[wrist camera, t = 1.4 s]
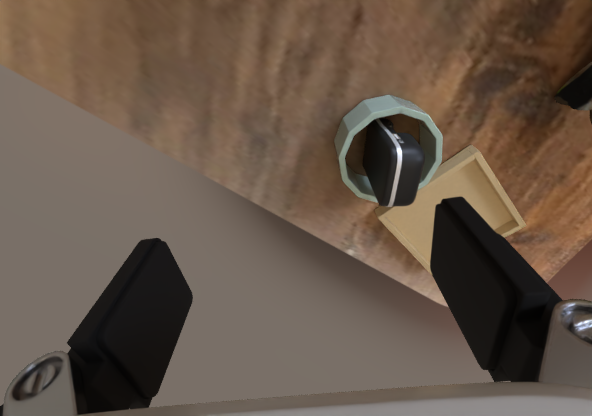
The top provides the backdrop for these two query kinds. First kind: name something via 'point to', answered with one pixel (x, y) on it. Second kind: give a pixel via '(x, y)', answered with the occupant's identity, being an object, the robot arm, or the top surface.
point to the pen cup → (378, 109)
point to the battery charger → (392, 164)
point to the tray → (446, 184)
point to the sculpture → (578, 91)
